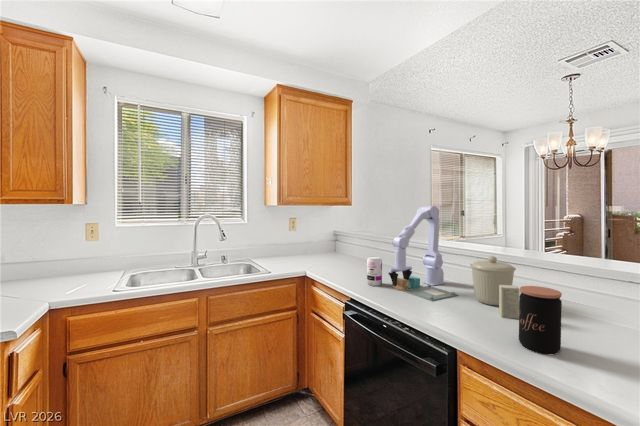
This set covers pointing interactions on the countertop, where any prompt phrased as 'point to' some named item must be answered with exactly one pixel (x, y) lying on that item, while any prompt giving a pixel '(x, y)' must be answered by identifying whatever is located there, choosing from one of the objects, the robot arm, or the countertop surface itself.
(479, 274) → the canister
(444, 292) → the baseplate
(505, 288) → the skincare box
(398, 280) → the honey-wood brick
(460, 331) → the countertop surface
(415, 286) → the teal brick
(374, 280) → the supplement can
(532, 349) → the coffee jar
